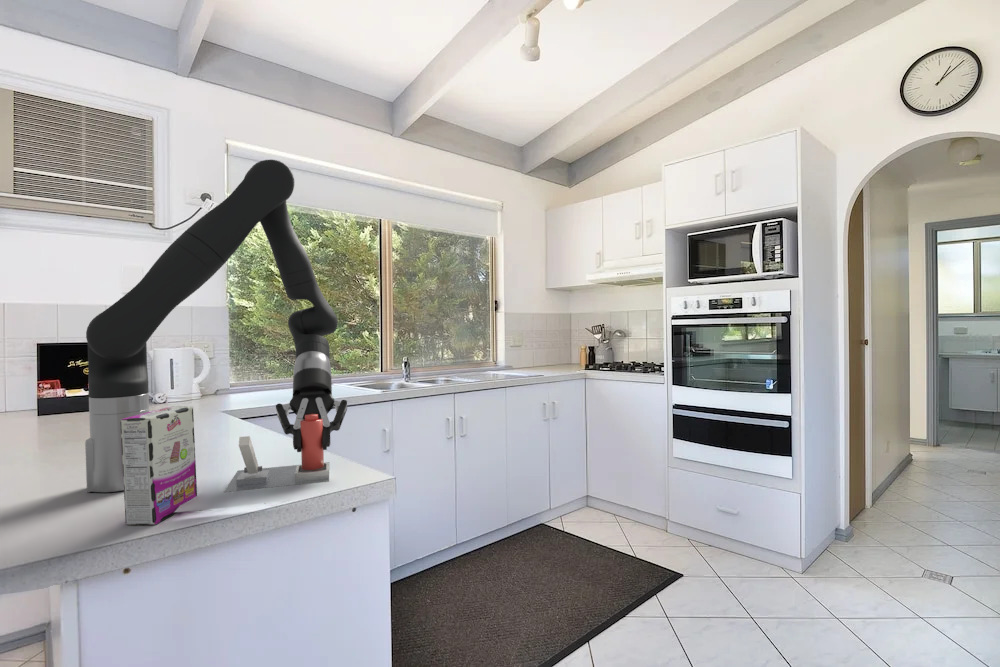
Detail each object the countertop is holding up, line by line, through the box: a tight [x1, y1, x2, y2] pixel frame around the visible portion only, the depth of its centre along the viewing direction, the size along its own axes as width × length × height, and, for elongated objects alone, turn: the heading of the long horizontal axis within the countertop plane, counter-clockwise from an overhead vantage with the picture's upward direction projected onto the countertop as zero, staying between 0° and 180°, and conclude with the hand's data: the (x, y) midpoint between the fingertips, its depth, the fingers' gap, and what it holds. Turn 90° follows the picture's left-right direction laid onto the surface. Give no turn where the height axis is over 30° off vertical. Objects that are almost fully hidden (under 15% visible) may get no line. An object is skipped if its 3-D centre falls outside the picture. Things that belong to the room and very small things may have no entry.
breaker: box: [238, 435, 263, 474], centre depth 95 cm, size 3×2×12 cm
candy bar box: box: [120, 405, 198, 526], centre depth 85 cm, size 11×5×16 cm, turn 179°
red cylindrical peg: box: [300, 414, 325, 470], centre depth 102 cm, size 4×4×10 cm
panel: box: [223, 461, 330, 493], centre depth 102 cm, size 18×14×2 cm
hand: (312, 448), depth 100 cm, fingers closed on red cylindrical peg, 4 cm apart
